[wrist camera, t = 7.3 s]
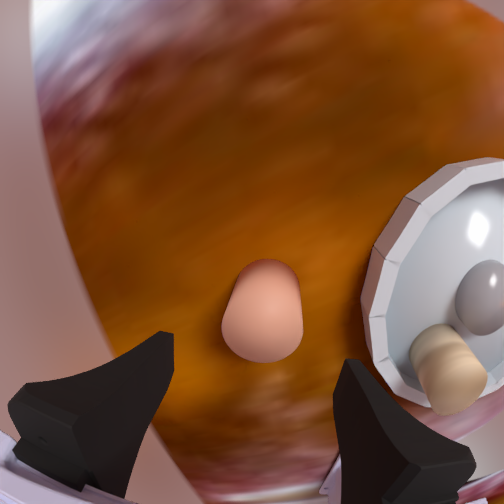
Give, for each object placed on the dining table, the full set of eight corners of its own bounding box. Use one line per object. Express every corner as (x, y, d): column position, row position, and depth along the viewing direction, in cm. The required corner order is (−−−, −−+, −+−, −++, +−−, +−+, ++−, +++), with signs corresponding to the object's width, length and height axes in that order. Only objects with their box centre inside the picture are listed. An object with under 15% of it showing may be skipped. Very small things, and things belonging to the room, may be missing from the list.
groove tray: (505, 382, 21) (516, 398, 19) (333, 383, 22) (337, 406, 20) (571, 194, 15) (590, 200, 13) (393, 128, 16) (408, 125, 14)
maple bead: (444, 370, 20) (468, 413, 15) (400, 368, 20) (420, 416, 15) (465, 325, 19) (497, 365, 14) (420, 321, 19) (449, 365, 14)
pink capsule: (293, 320, 21) (294, 367, 16) (233, 312, 21) (219, 356, 16) (304, 263, 20) (310, 300, 15) (239, 254, 20) (225, 288, 15)
